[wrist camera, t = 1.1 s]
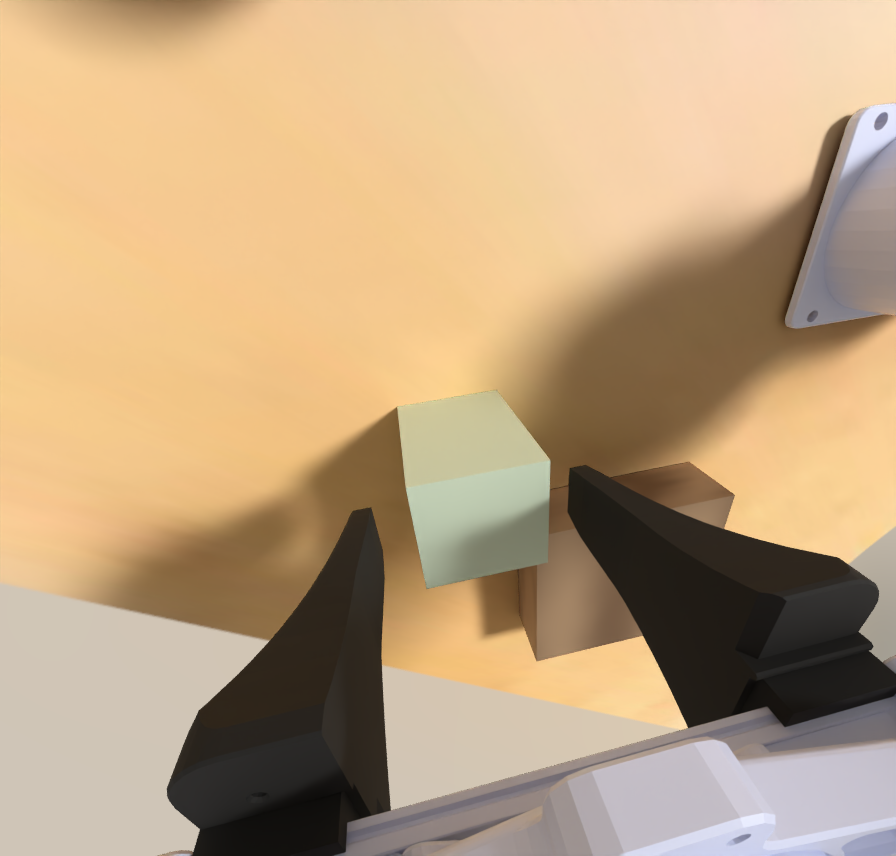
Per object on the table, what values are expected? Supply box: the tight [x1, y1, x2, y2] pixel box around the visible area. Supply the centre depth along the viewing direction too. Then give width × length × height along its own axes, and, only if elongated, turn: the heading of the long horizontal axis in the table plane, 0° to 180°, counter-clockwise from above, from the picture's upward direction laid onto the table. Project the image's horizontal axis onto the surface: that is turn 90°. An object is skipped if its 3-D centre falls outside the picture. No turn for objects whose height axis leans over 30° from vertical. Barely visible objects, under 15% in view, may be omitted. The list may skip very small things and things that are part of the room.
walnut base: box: [518, 462, 735, 661], centre depth 21 cm, size 10×10×3 cm
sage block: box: [397, 390, 550, 589], centre depth 15 cm, size 4×4×6 cm
